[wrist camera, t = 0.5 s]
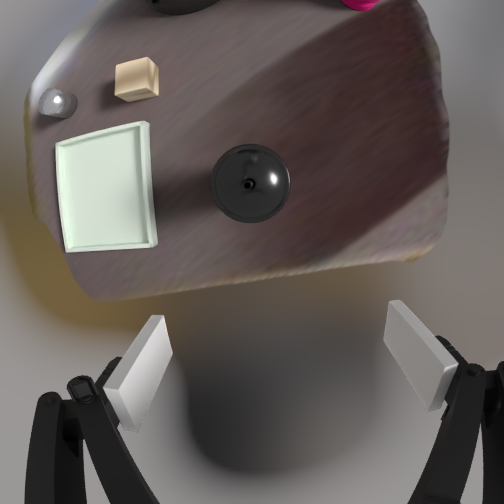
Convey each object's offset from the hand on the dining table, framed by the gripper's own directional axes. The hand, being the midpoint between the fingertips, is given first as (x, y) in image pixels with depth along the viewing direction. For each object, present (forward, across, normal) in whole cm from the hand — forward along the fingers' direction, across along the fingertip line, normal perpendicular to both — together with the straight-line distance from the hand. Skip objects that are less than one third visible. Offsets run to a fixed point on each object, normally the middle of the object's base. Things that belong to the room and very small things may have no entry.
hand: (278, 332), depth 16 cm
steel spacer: (+28, -32, +25) cm, 49 cm away
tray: (+27, -25, +9) cm, 38 cm away
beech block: (+28, -17, +25) cm, 41 cm away
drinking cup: (+27, -2, +7) cm, 28 cm away
